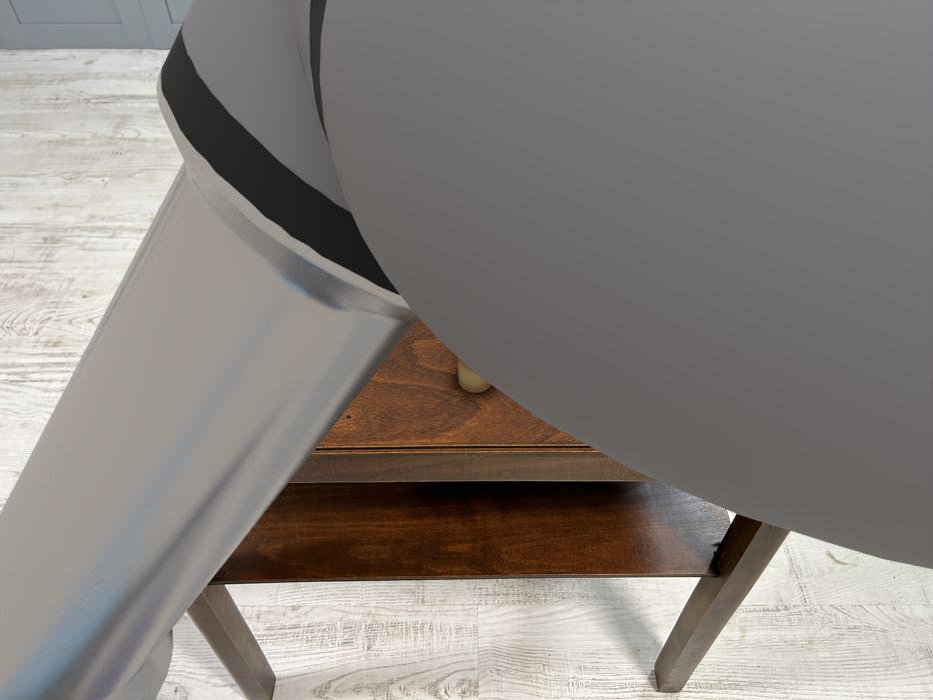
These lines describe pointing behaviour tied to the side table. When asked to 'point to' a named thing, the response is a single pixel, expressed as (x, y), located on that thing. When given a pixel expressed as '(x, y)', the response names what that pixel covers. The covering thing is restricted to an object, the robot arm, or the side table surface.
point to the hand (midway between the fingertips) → (589, 204)
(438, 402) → the side table surface
